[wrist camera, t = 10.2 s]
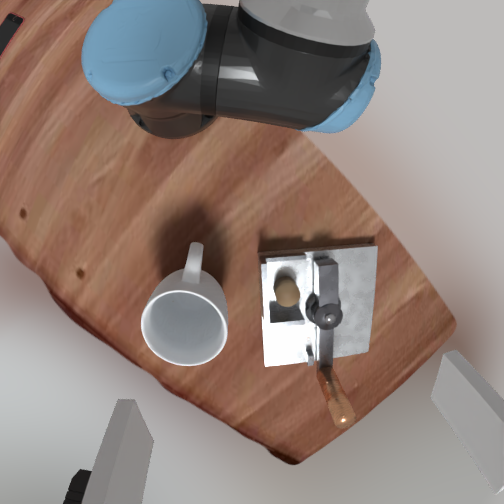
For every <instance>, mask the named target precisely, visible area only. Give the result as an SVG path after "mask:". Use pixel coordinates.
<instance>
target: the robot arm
mask: <svg viewBox="0 0 504 504" xmlns="http://www.w3.org/2000/svg"><path fill="white" fill-rule="evenodd" d="M368 2H369V0H240V1H239V7H234V6H226V5H213V4H202V3H201V2H200V1H199V0H114V1H113V3H112V4H111V5H110V6H109V7H108V8H106V9H104V10H102V11H101V12H100V13H99V15H98V16H97V17H96V18H95V20H94V21H93V23H92V24H91V26H90V28H89V30H88V32H87V34H86V37H85V40H84V43H83V47H82V67H83V71H84V74H85V77H86V78H87V80H88V82H89V83H90V85H91V86H92V87H93V88H94V89H95V90H96V91H97V92H99V94H100V95H101V96H102V97H103V98H105V99H107V100H108V101H111V102H112V103H114V104H119V105H121V106H123V107H125V108H127V110H128V112H129V114H130V116H131V117H132V119H133V120H134V121H135V123H136V124H137V125H138V126H139V127H141V128H142V129H143V130H145V131H146V132H148V133H150V134H153V135H155V136H158V137H162V138H168V139H180V138H185V137H189V136H192V135H195V134H197V133H199V132H201V131H203V130H204V129H206V128H207V127H209V126H210V125H211V124H212V123H213V122H214V121H215V120H216V119H217V118H218V116H220V117H227V118H234V119H241V120H247V121H254V122H260V123H266V124H271V125H277V126H282V127H287V128H292V129H295V130H298V131H299V130H300V131H315V132H323V133H336V132H340V131H343V130H345V129H346V128H348V127H349V126H350V125H352V124H353V123H354V122H355V121H356V120H357V119H358V118H359V117H360V116H361V114H362V113H363V112H364V110H365V109H366V107H367V106H368V104H369V102H370V100H371V98H372V96H373V93H374V91H375V87H374V82H375V81H376V79H378V78H379V74H380V69H381V55H380V50H379V48H378V45H377V43H376V42H375V40H374V39H373V37H374V33H375V29H374V26H373V24H372V22H371V20H370V18H369V16H368V14H367V12H366V7H367V4H368ZM431 400H432V401H433V402H434V404H435V405H436V407H437V408H438V409H439V411H440V412H441V414H442V415H443V417H444V418H445V419H446V421H447V422H448V423H449V425H450V426H451V428H452V430H453V431H454V432H455V434H456V435H457V437H458V438H459V440H460V441H461V443H462V444H463V446H464V447H465V449H466V450H467V452H468V453H469V455H470V456H471V458H472V459H473V461H474V462H475V464H476V466H477V467H478V469H479V470H480V472H481V473H482V475H483V476H484V478H485V480H486V481H487V483H488V484H489V486H490V488H491V489H492V490H493V492H494V494H495V495H496V494H498V493H499V492H501V491H502V490H504V400H503V399H502V398H501V397H500V395H499V394H498V393H497V392H496V391H495V390H494V389H493V388H492V387H491V386H490V384H489V383H488V382H486V380H485V379H484V378H483V377H482V376H481V375H480V374H479V373H478V372H477V371H476V370H475V369H474V367H472V366H471V364H470V363H469V362H468V361H467V360H466V359H465V358H464V357H463V356H462V355H461V354H460V353H459V352H458V351H457V350H453V351H450V352H447V353H444V354H443V358H442V361H441V365H440V368H439V372H438V375H437V379H436V382H435V385H434V389H433V392H432V395H431ZM153 443H154V440H153V438H152V436H151V434H150V432H149V430H148V428H147V426H146V423H145V421H144V419H143V417H142V415H141V413H140V410H139V408H138V406H137V403H136V401H135V400H132V399H131V400H129V399H118V401H117V403H116V406H115V408H114V411H113V414H112V416H111V419H110V422H109V424H108V427H107V430H106V433H105V435H104V438H103V441H102V444H101V446H100V449H99V452H98V455H97V458H96V461H95V464H94V466H93V469H92V471H88V470H82V469H80V470H79V471H78V472H77V474H76V475H75V476H74V477H73V478H72V480H71V483H70V485H69V488H68V490H69V491H68V492H67V494H66V497H65V500H64V502H63V504H142V499H143V493H144V488H145V483H146V478H147V472H148V467H149V462H150V457H151V453H152V448H153Z"/></svg>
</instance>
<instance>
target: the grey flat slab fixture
mask: <svg viewBox="0 0 504 504" xmlns="http://www.w3.org/2000/svg"><path fill="white" fill-rule="evenodd" d="M377 247H378V246H377V245H375V244H373V243H366V244H353V245H341V246H328V247H316V248H303V249H290V250H278V251H265V252H258V267H259V284H260V300H261V317H262V334H263V352H264V363H265V367H266V366H276V365H285V364H293V363H301V362H307V365H308V366H310V365H314V361H316V360H317V325H316V323H315V321H314V319H313V317H312V315H311V306H312V304H313V303H314V302H315V301H316V300H315V290H314V260H323V259H331V258H333V259H334V260H335V261H336V262H337V263H338V264H339V299H338V306H339V307H340V308H341V310H342V312H343V318H342V321H341V323H340V324H339V325H338V326H337V327H336V328H334V340H333V358H336V357H342V356H348V355H354V354H359V353H365V352H368V348H369V341H370V333H371V324H372V315H373V305H374V294H375V281H376V266H377ZM283 276H288V277H291V278H292V279H293V280H294V281H295V283H296V285H297V286H298V288H299V290H300V299H299V301H298V302H297V303H296V304H295V305H293V306H290V307H284V306H282V305H280V304H279V303H278V302H277V300H276V297H275V294H274V291H273V285H274V283H275V281H276V280H277V279H278V278H280V277H283Z"/></svg>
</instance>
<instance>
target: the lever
mask: <svg viewBox="0 0 504 504" xmlns="http://www.w3.org/2000/svg"><path fill="white" fill-rule="evenodd" d="M314 290H315V300H316V301H315V302H314V303H313V304H312V306H311V315H312V317H313V319H314V321H315V323H316V325H317V379H318V381H319V384H320V386H321V389H322V392H323V394H324V397H325V399H326V402H327V405H328V407H329V410H330V412H331V415H332V418H333V420H334V423H335V425H336V427H338V428H346V427H349V426H350V425H352V424H353V423H354V422H355V420H356V416H355V413H354V411H353V409H352V407H351V405H350V403H349V401H348V398H347V396H346V394H345V392H344V390H343V388H342V386H341V384H340V382H339V379H338V377H337V375H336V373H335V371H334V369H333V368H332V366H333V340H334V328H336V327H337V326H338V325H339V324H340V323H341V321H342V318H343V312H342V310H341V308H340V307H339V306H338V299H339V264H338V263H337V262H336V261H335V260H334V259H333V258H331V259H323V260H314Z"/></svg>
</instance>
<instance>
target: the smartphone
mask: <svg viewBox="0 0 504 504" xmlns="http://www.w3.org/2000/svg"><path fill="white" fill-rule="evenodd" d="M24 21H25V19H24V18H23V17H21V16H19V15H17V14H15V13H12V12H11V13H9V14H8V15H7V16H6V18H5V19H4V21H3V22H2V24H1V25H0V58H1V56H2V55H3V53H4V51H5V50H6V48H7V46H8V45H9V43H10V42H11V40H12V39H13V37H14V36H15V34H16V33H17V31H18V30H19V28H20V27H21V25H22V24H23V23H24Z"/></svg>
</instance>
